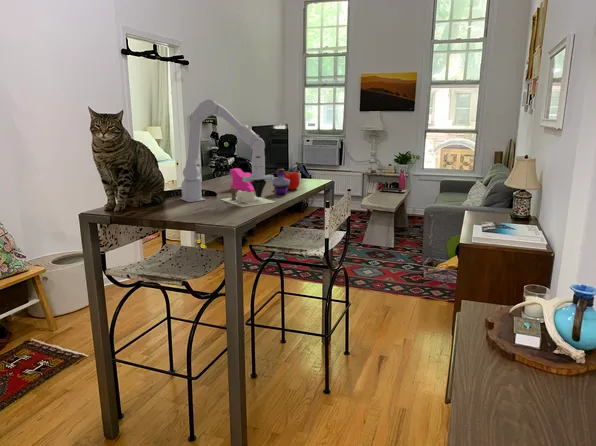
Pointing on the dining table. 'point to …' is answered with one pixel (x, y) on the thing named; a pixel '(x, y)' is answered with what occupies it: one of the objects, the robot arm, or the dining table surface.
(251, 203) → the card
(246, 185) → the bracket
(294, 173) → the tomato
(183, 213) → the dining table surface
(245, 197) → the fence panel
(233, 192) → the fence post
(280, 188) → the potion bottle
